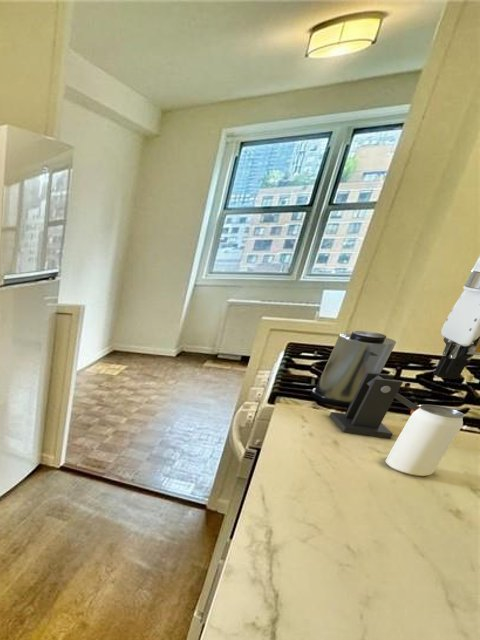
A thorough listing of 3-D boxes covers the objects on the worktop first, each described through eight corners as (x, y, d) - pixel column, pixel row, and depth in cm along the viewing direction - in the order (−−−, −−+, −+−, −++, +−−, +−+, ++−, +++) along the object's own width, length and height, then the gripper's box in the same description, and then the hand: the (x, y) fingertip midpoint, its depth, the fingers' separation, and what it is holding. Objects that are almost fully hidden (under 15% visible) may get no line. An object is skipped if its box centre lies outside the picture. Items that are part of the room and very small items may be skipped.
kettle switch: (416, 419, 104) (433, 408, 102) (423, 425, 101) (440, 414, 99) (363, 384, 105) (378, 372, 103) (369, 389, 102) (385, 377, 101)
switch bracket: (373, 422, 110) (399, 372, 104) (390, 438, 102) (419, 386, 97) (329, 416, 112) (352, 368, 107) (343, 432, 105) (368, 381, 100)
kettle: (355, 393, 125) (386, 329, 117) (377, 413, 114) (413, 344, 106) (302, 387, 129) (329, 325, 121) (319, 406, 118) (350, 339, 110)
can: (387, 470, 91) (421, 412, 85) (381, 456, 96) (412, 400, 90) (435, 480, 88) (473, 421, 82) (426, 466, 92) (462, 408, 87)
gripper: (554, 290, 82) (493, 391, 91) (499, 277, 94) (450, 367, 103) (493, 288, 85) (439, 387, 93) (447, 275, 97) (403, 364, 105)
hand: (445, 376), depth 98 cm, fingers closed
